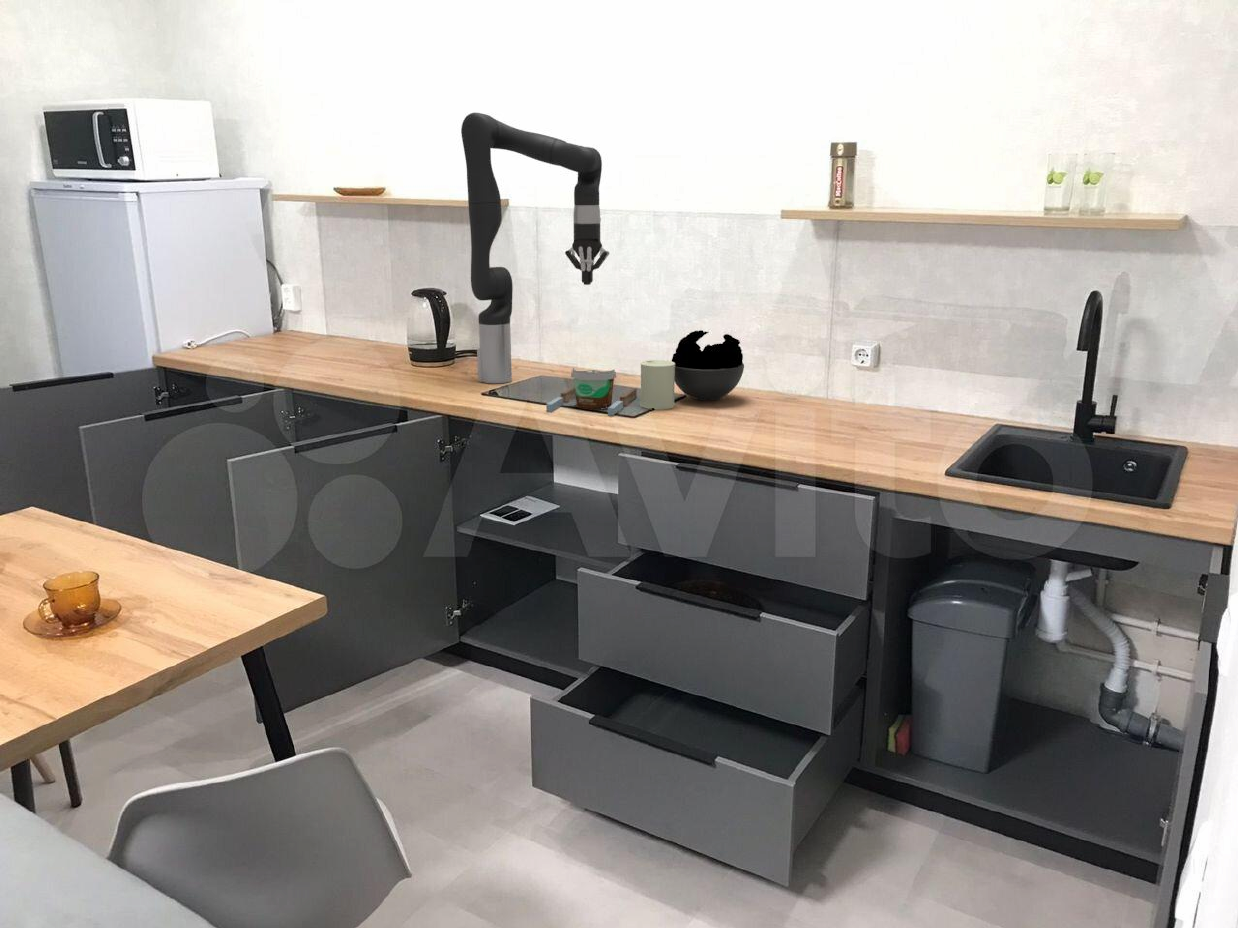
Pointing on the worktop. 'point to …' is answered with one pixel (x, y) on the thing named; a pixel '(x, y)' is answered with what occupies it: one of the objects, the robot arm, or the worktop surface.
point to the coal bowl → (707, 367)
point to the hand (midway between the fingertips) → (587, 284)
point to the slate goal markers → (559, 402)
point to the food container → (593, 388)
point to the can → (657, 384)
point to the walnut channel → (625, 397)
